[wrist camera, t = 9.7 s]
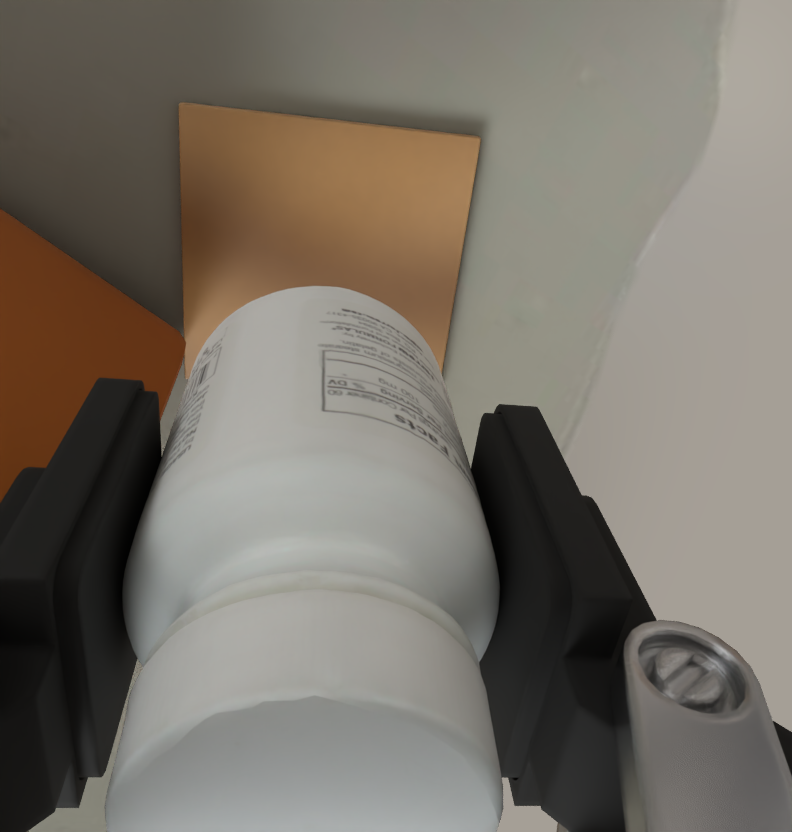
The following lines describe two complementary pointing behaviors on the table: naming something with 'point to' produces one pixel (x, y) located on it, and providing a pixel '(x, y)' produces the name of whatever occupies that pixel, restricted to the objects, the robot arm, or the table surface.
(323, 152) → the placemat
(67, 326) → the alarm clock
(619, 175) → the table surface
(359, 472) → the pill bottle
